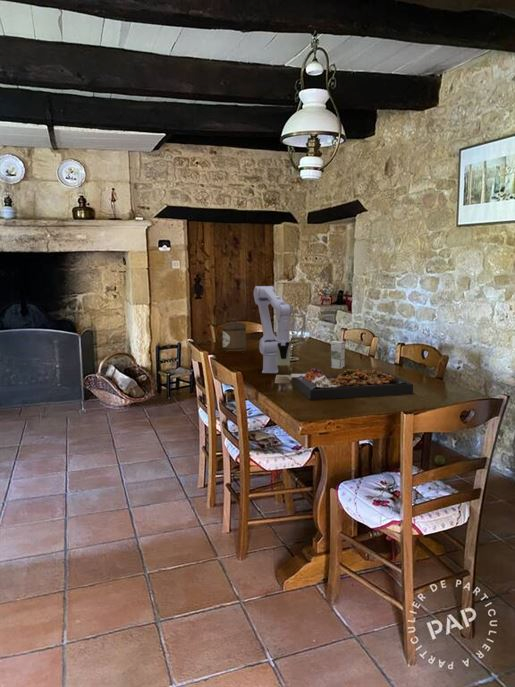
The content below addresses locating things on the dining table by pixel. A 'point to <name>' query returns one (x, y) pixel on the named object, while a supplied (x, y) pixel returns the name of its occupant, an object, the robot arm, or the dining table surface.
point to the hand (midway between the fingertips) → (283, 358)
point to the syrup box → (337, 354)
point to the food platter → (351, 384)
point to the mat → (296, 375)
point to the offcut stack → (282, 379)
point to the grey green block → (283, 361)
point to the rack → (284, 375)
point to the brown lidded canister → (234, 336)
